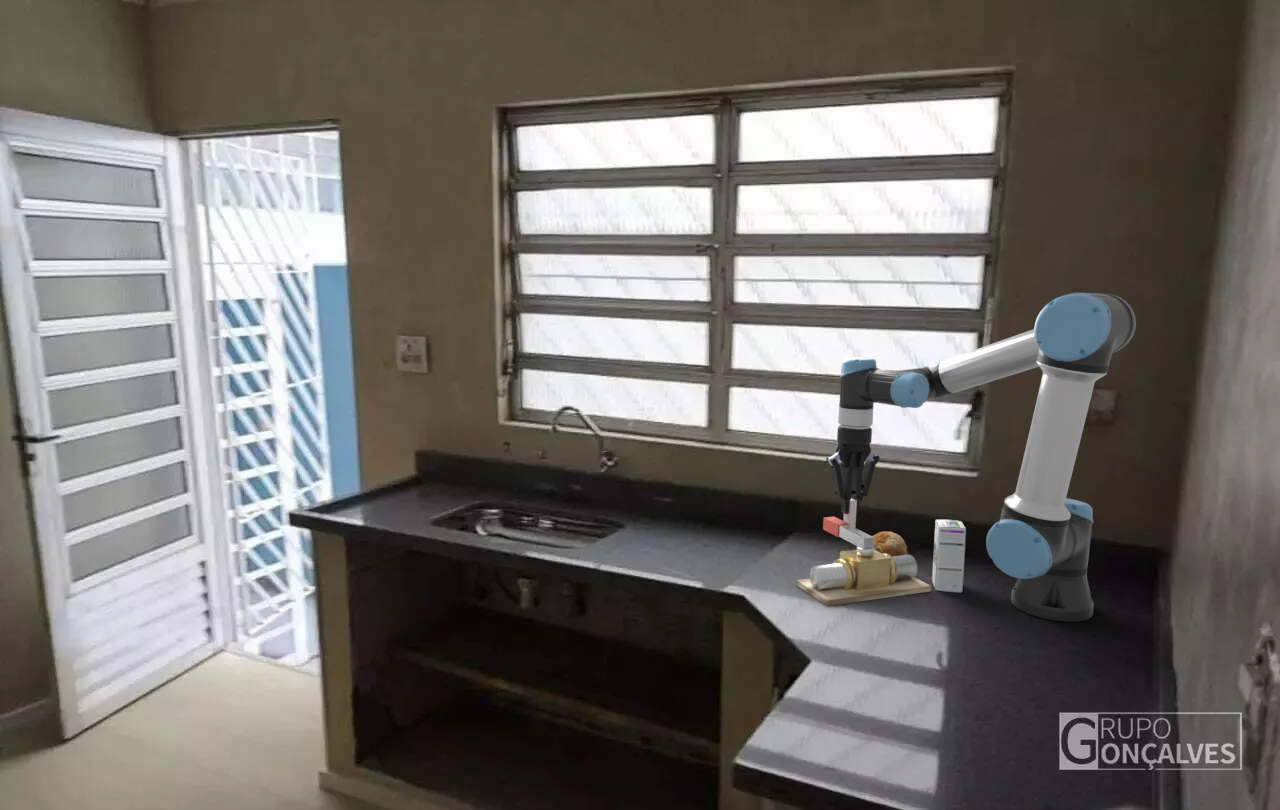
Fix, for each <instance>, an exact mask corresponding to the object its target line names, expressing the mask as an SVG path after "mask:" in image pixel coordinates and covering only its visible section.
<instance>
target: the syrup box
mask: <svg viewBox="0 0 1280 810" xmlns="http://www.w3.org/2000/svg"><path fill="white" fill-rule="evenodd" d="M934 522H935V525H934V536H933V537H934V542H933V558H932V559H933V560H932V574H931V582H932V585H933V587H934V589H935V590H936V591H938V592H939V591H941V592H946V593H947V592H949V593H962V592H963V584H964V571H965V555H966V536H967V528H966V526H965V525H964V524H963V522H962V520H957V519H956V520H955V519H935V521H934Z"/></svg>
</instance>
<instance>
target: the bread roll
mask: <svg viewBox="0 0 1280 810" xmlns="http://www.w3.org/2000/svg"><path fill="white" fill-rule="evenodd" d="M871 536H872V537H874V541H873V547H874V550H876V551H878V552H880V553H882V554H883V553H887V554H889V555H891V556H892V557H894V556H902V555H908V550H907V549H908V546H907V545H906V541H905V540H904V539H903V538H902V536H901V535H899V534H898V533H894V531H879V532H877V533H876V534H874V535H871Z"/></svg>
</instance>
